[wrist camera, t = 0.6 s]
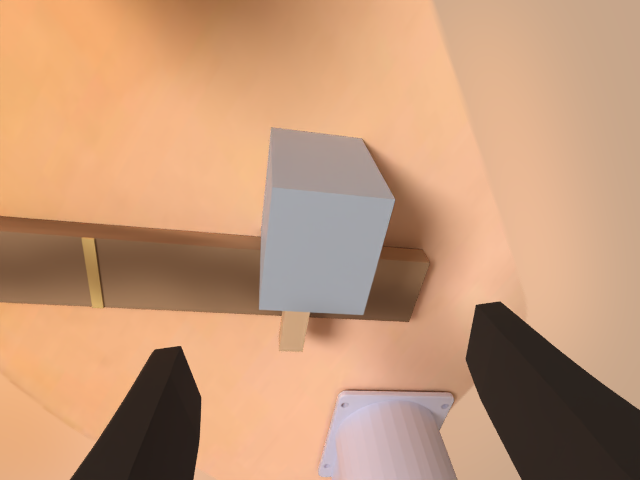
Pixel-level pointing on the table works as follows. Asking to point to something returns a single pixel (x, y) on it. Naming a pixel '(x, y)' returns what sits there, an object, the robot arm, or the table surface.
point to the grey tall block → (319, 228)
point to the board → (168, 270)
